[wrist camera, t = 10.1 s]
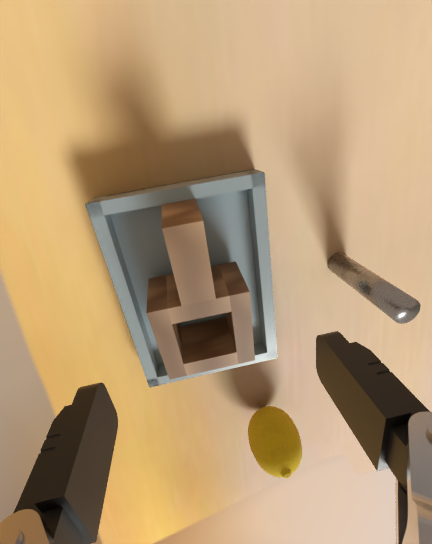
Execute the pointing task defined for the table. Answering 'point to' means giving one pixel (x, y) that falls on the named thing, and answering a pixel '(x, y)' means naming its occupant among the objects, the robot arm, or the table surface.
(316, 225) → the table surface
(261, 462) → the lemon
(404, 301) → the peg
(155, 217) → the tray
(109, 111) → the table surface
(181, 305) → the collar
